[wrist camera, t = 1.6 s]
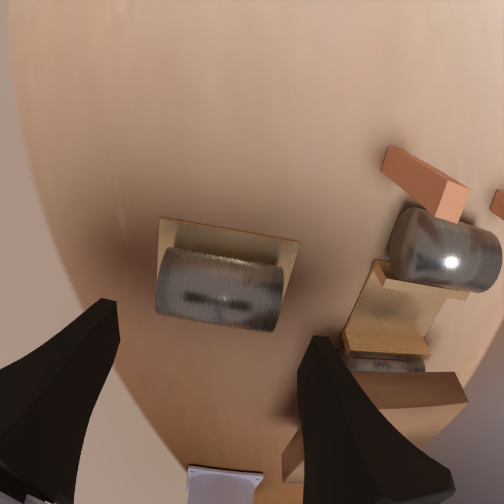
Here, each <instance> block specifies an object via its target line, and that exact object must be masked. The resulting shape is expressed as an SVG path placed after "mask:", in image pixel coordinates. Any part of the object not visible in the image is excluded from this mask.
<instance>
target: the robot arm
mask: <svg viewBox="0 0 504 504" xmlns="http://www.w3.org/2000/svg"><path fill="white" fill-rule="evenodd" d="M119 343H120V334H119V325H118V315H117V304H116V301H112V300H108V299H104V298H101V299H99V300H98V301H97V302H96V303H94V304H93V305H92V306H91V307H89V308H88V309H87V310H86V311H85V312H83V313H82V314H81V315H80V316H79V317H77V318H76V319H75V320H74V321H73V322H71V323H70V324H69V325H68V326H67V327H65V328H64V329H63V330H62V331H60V332H59V333H58V334H56V335H55V336H54V337H52V338H51V339H49V340H48V341H47V342H45V343H44V344H43V345H41V346H40V347H38V348H37V349H36V350H34V351H32V352H31V353H29V354H28V355H26V356H24V357H23V358H21V359H19V360H17V361H16V362H14V363H12V364H10V365H8V366H6V367H4V368H2V369H0V504H47V503H45V501H47V502H50V503H52V504H54V503H56V504H74V493H75V485H76V477H77V471H78V465H79V460H80V455H81V450H82V446H83V442H84V437H85V434H86V430H87V426H88V423H89V419H90V416H91V413H92V411H93V408H94V406H95V403H96V401H97V399H98V396H99V394H100V392H101V390H102V387H103V385H104V383H105V381H106V378H107V376H108V374H109V372H110V369H111V367H112V365H113V362H114V359H115V356H116V353H117V350H118V346H119ZM297 396H298V405H299V413H300V420H301V428H302V436H303V444H304V492H303V504H439V503H441V502H442V501H444V500H446V499H447V498H449V497H451V496H452V495H453V494H454V492H455V490H456V489H455V485H454V482H453V478H452V475H451V472H450V470H449V469H448V468H446V467H444V466H443V465H441V464H440V463H438V462H437V461H435V460H434V459H432V458H430V457H429V456H428V455H426V454H425V453H424V452H422V451H421V450H420V449H419V448H417V447H416V446H415V445H414V444H412V443H411V442H410V441H409V440H408V439H407V438H406V437H404V436H403V435H402V434H401V433H400V432H399V431H398V430H397V429H396V428H395V427H394V426H393V425H392V424H391V423H390V422H389V421H388V420H387V419H386V418H385V416H384V415H383V414H382V413H381V412H380V411H379V410H378V409H377V407H376V406H375V405H374V404H373V402H372V401H371V400H370V398H369V397H368V396H367V395H366V393H365V392H364V391H363V389H362V388H361V386H360V385H359V384H358V382H357V381H356V379H355V378H354V376H353V375H352V373H351V372H350V370H349V369H348V367H347V365H346V364H345V362H344V361H343V359H342V358H341V356H340V354H339V353H338V351H337V349H336V348H335V346H334V345H333V343H332V342H331V340H330V338H329V337H322V336H313V337H312V339H311V342H310V344H309V346H308V348H307V351H306V353H305V355H304V357H303V360H302V362H301V364H300V366H299V368H298V370H297ZM263 478H264V475H263V474H260V473H247V472H236V471H227V470H218V469H211V468H204V467H197V466H188V473H187V485H186V490H187V491H189V496H188V503H187V504H254V490H255V489H256V487H257V486H258V485H259V483H260V482H261V481H262V479H263Z"/></svg>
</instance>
